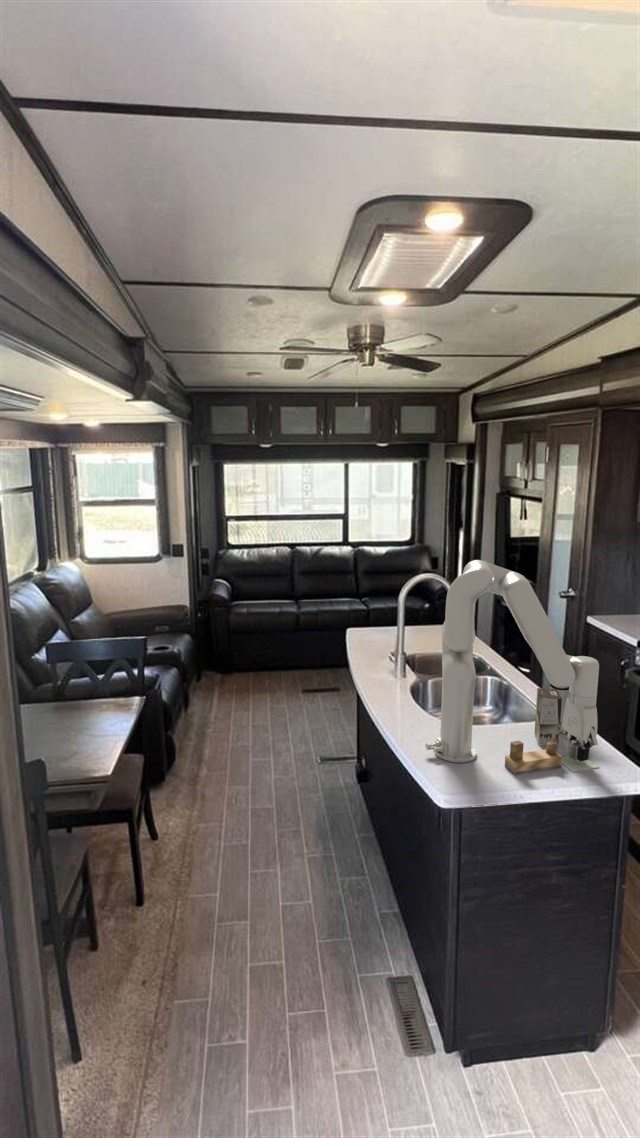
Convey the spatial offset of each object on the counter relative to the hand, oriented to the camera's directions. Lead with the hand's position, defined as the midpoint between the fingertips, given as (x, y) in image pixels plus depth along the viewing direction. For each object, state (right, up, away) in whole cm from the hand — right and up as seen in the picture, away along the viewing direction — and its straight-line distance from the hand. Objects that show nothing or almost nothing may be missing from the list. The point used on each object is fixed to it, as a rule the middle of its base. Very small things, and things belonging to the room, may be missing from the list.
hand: (577, 755), depth 181 cm
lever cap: (0, 0, 0) cm, 0 cm away
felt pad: (0, -2, 0) cm, 2 cm away
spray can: (+3, +2, +24) cm, 24 cm away
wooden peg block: (-14, -3, -2) cm, 14 cm away
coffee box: (-4, 0, +16) cm, 16 cm away
